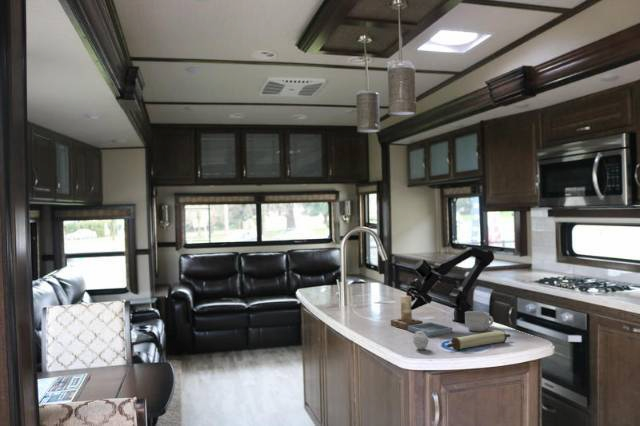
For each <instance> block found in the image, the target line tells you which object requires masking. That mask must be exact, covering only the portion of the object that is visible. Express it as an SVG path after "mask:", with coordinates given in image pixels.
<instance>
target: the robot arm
mask: <svg viewBox="0 0 640 426" xmlns="http://www.w3.org/2000/svg"><path fill="white" fill-rule="evenodd" d="M471 257H474V265H473V266H472V267H471V269H470V270H469V272H468V274H467V275H466V277H465V278H464V280H463V282H462V283H461V285H460V286H459V287H458V288H454V287H453V289H452V291H451V292H450V293H449V294H448V295H449V297H448V300H449V303H450V304H451V306H452V308H454V310H453V319H452V322H456V323H461V324H463V323H464V324H465V312H468V311H470V310H471V306H472V305H471V304H470V303H469V302H468V298H469V292H470V290H471V289H472V287H474V284H475V282H476V281H477V279H478V278H479V277H480V275H481V274H482V272H483V270H484V269H485V268H487V267H488V266H490V265H491V263H492V262H493V261H494V260H495V253H493V251H491V250H485V249H484V250H483V249H479V248H475V247H473V246H472V247H471V246H467V247H466V248H465V249H463V250H462V251H460V252H458V253H456V254H455V255H453V256H451V257H449V258H448V259H444V260H440V261H438V262H437V261H436V262H435V263H434V264H433V265H430V264H429V263H428V262H427V260H425V259H421V260H420V261H418V262H416V263H415V264H414V266H413V270H414V271H415V272H416V273H417V274H418V275H419V276H420V277H421V278H423V279H422V280H421V279H418V278H415V279H414V278H411V277H409V278H408V279H407V282H406V285H409V286H407V287H406V288H405V289H404V290H405V293H406V296H411V303H413V304H412V307H411V308H410V309H411V310H412V311H413V310H415V309H418V308H420V307H422V306H425V305H428V304H431V302H433V298H432V296H431V295H430V294H429V293H430V292H432V291H433V288H434V287H435V286H436V284H437V283H440V284H443V277H442V276H447V275H448V274H449V273H450V272H451V271H452V270H453V268H454V267H456V266H458V265H459V264H461V263H462V262H465V261H466V260H467V259H469V258H471Z"/></svg>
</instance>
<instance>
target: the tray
mask: <svg viewBox="0 0 640 426" xmlns="http://www.w3.org/2000/svg"><path fill="white" fill-rule="evenodd" d="M418 331H423V332H424V333H425V334H426V336H427V338H433V337H438V336H443V335H447V334H448V335H449V334H452V333H453V327H450V326H448V325H447V326H446V325H443V324H439V323H436V322H432V321H431V322H430V321H429V322H424V323H422V324H417V325H411V326H408V329H407V332H411V333H413V334H415V333H416V332H418Z"/></svg>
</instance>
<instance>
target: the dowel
mask: <svg viewBox="0 0 640 426" xmlns="http://www.w3.org/2000/svg"><path fill="white" fill-rule="evenodd" d="M412 305H413V304H412V302H411V296H407V295H401V296H400V318H401V322H405V323H407V322H412V317H413V316H412V315H413V314H412V313H413V310H411V309H410V308H411V307H412Z"/></svg>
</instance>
